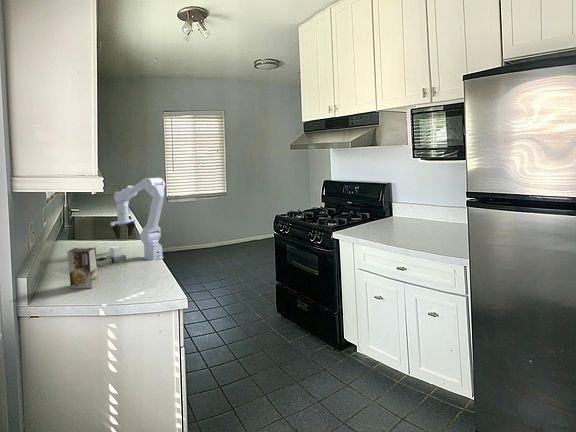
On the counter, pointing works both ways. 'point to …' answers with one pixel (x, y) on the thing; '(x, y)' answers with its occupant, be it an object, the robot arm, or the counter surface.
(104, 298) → the counter surface
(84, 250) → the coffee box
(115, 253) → the plug
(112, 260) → the panel
